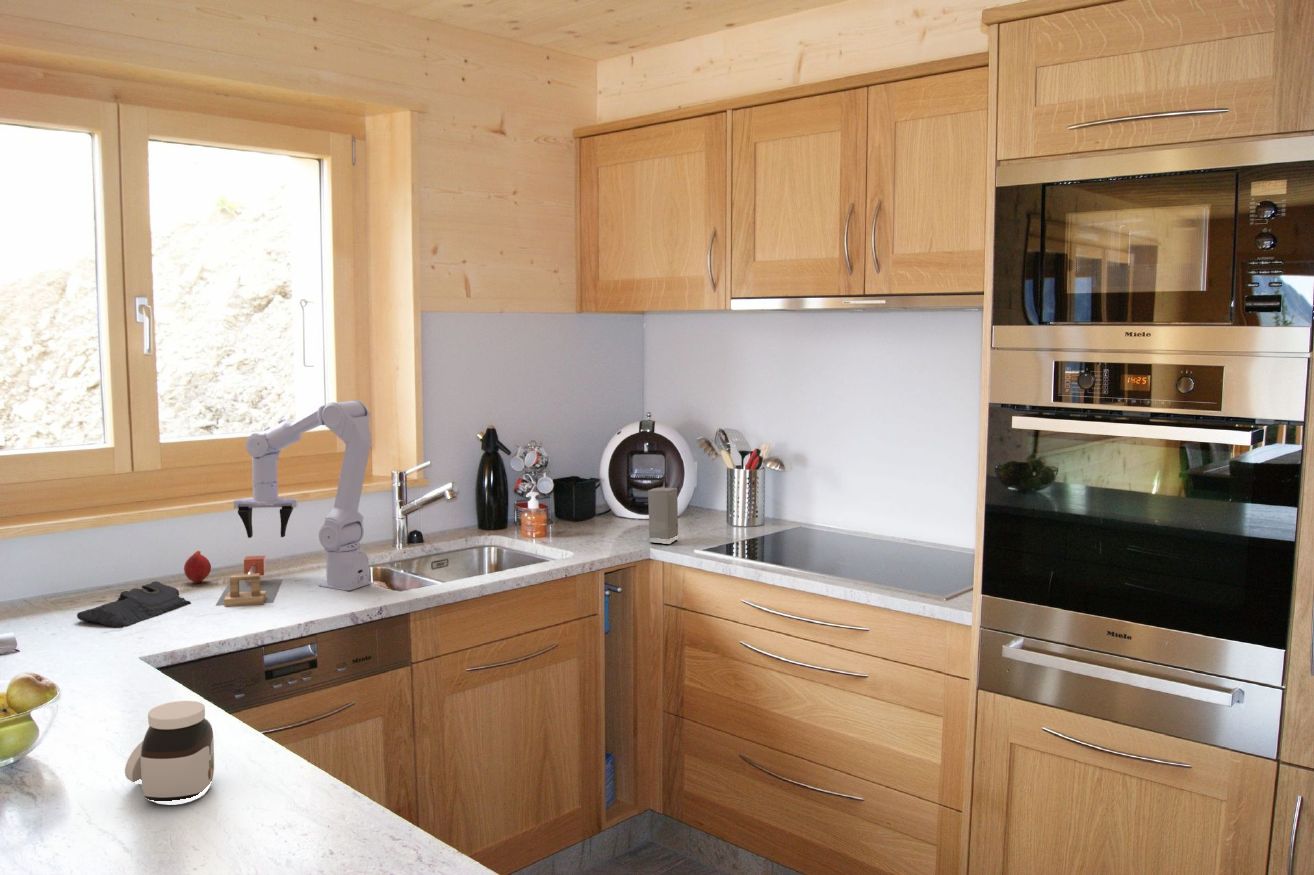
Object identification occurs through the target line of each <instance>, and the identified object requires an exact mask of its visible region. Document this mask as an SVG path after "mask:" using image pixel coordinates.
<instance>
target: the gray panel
mask: <svg viewBox="0 0 1314 875" xmlns="http://www.w3.org/2000/svg"><path fill="white" fill-rule="evenodd" d="M282 581H283V578H277V579H276V578H274V579H272V578H271V579H260V591H266V599H265V601H264V604H273V603H274V602H275V599H276V597H277V594H278V592H279V589H280V586H281V585H282ZM239 592H251V582H250V583H245V582H244V580H239ZM228 593H230V581H229V582H228V583H227V585H226V587H225V588H224V591H223V592H222V594H221V595H220V597H219V598H218V600H217V602H216V604H215V606H224V599H225V597H226V596H227V594H228Z"/></svg>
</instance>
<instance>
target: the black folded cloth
mask: <svg viewBox="0 0 1314 875" xmlns="http://www.w3.org/2000/svg"><path fill="white" fill-rule="evenodd" d="M188 605H192V602H191V601H190V600H186V599H185V597H181V596H180V591H179V590H178V589H177V588H176V587H174V586H170V585H167V584H163V583H161V582H160V581H152V582H151V583H148V584H145V585H142V586H141V588H136V587H135V588H134V587H133V588H132V589H131V590H124V591H121V592H120V595H119V597H118V598H117V599H116V600H115V601H110V602H107V603H104V604H101V605H99V606H96V607H94V608H89V609H85V610H83V611H80V612H77V613H76V618H77V619H78V620H80V621H83V622H88V621H89V622H90V623H98V624H101V625H105V626H108V627H112V628H120V627H122V628H125V627H126V628H127V627H131V626H133V625H136V624H138V623H141V622H144V621H147V620H150V619H153V618H155V617H159V616H162V615H164V614H167V613H170V612H172V611H175V610H177V609H180V608H183V607H186V606H188Z"/></svg>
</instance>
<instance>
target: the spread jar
mask: <svg viewBox="0 0 1314 875" xmlns="http://www.w3.org/2000/svg"><path fill="white" fill-rule="evenodd" d="M205 708H206V707H205V704H203V702H200V701H195V700H179V701H178V700H176V701H169V702H166V703H163V704H160V705H158V706H155V707H153V708H151V709H150V710H149V711H148V713H147V719H148V720H147V721H148V726H149V727H148V728H147V730H146V732H145V735H144V738H143V740H142V741H141V742H140V743H139V744H138V745H136V747H135V749H133V751H132V752H131V753H130V755H129V757H128V758H127V761H126V764H125V767H124V775H125V777H126V779H127V780H129V781H130V782H131V783H133V782H135V781H137V780H139V779H141V780H142V785H141V790H142V794H143V797H144V798H145V799H146V798H147V799H149V800H154V801H172V800H180V799H186V798H191V797H193V796H196V795H198V794H199V793H200V792H202V791H203V790H204V789H205V788H206V787H207V786H208V785H209V784H210V782H211V781H212V782H213V777H214V771H215V745H214V743H215V740H214V731H213V726H212V724H211V723H210V722H209V720H208V719H207V718H206V709H205ZM147 799H146V800H147Z"/></svg>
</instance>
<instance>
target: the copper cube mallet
mask: <svg viewBox="0 0 1314 875" xmlns="http://www.w3.org/2000/svg"><path fill="white" fill-rule="evenodd" d="M266 567H267V566H266V555H251V556H249V555H248V556H247V555H246V556H245V557H244V558H243V574H258V573H260V577H261V576H265V574H266ZM243 581H244V582H245V583H250V582H251V580H243Z"/></svg>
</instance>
